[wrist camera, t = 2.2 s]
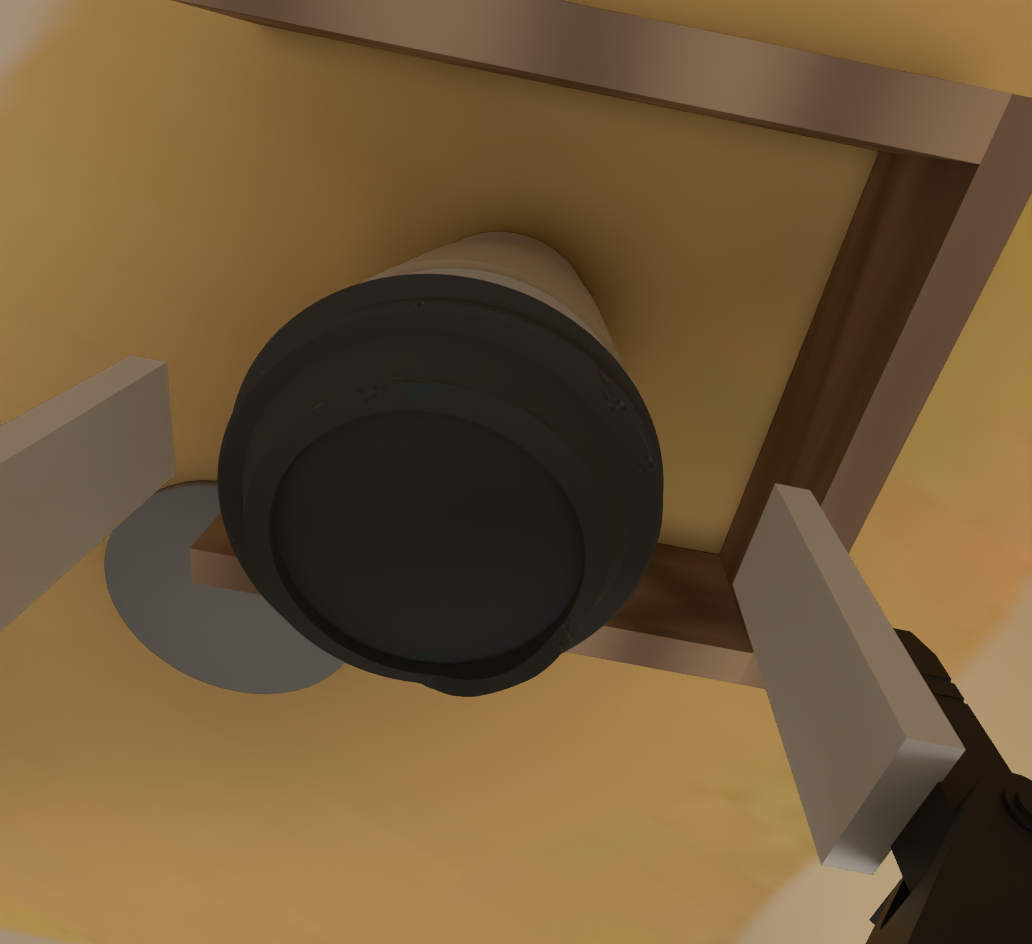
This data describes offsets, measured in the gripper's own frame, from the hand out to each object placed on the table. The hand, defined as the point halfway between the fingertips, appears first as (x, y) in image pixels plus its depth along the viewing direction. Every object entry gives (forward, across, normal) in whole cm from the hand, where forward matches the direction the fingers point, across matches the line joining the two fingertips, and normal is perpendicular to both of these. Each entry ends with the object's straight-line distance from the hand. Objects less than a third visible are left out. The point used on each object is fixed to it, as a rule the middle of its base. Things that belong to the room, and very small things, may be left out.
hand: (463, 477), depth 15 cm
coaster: (+12, -10, -15) cm, 22 cm away
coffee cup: (+12, 0, 0) cm, 12 cm away
